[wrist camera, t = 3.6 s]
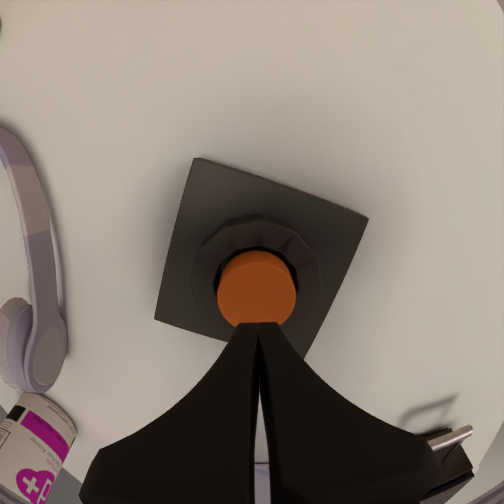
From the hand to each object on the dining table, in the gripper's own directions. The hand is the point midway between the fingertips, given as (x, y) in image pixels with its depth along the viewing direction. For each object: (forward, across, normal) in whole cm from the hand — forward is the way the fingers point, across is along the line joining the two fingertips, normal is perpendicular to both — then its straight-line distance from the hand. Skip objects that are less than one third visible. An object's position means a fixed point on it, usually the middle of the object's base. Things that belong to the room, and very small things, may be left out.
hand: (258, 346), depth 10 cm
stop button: (+5, 0, 0) cm, 5 cm away
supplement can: (+9, +25, +19) cm, 33 cm away
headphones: (+9, +24, -3) cm, 26 cm away
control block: (+8, 0, 0) cm, 8 cm away
